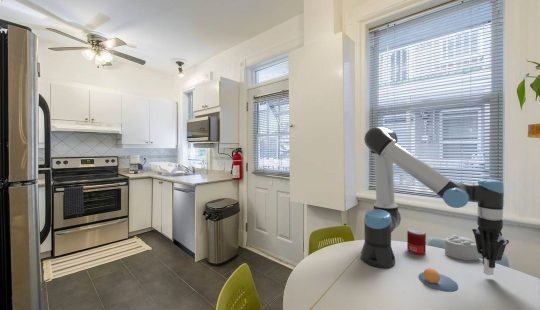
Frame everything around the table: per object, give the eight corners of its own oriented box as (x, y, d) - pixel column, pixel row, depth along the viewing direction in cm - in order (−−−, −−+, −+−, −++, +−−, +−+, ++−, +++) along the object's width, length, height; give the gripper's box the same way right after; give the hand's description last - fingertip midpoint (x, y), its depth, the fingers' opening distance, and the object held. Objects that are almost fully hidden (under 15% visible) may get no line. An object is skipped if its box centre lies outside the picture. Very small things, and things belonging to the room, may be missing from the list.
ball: (429, 263, 96) (434, 274, 96) (418, 269, 96) (423, 280, 96) (440, 270, 90) (445, 282, 91) (428, 276, 90) (433, 288, 90)
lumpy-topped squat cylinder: (482, 259, 110) (482, 242, 109) (454, 260, 110) (455, 242, 109) (463, 249, 120) (464, 233, 120) (438, 250, 120) (439, 234, 120)
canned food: (428, 255, 115) (428, 234, 114) (410, 254, 116) (410, 233, 116) (421, 248, 122) (421, 228, 122) (405, 247, 124) (405, 227, 123)
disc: (411, 273, 100) (411, 272, 100) (440, 271, 101) (440, 271, 101) (434, 292, 87) (434, 291, 87) (467, 290, 88) (467, 289, 88)
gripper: (516, 222, 88) (514, 282, 89) (482, 212, 101) (481, 265, 102) (497, 223, 87) (496, 283, 88) (466, 213, 100) (465, 265, 101)
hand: (488, 273), depth 95 cm, fingers closed
